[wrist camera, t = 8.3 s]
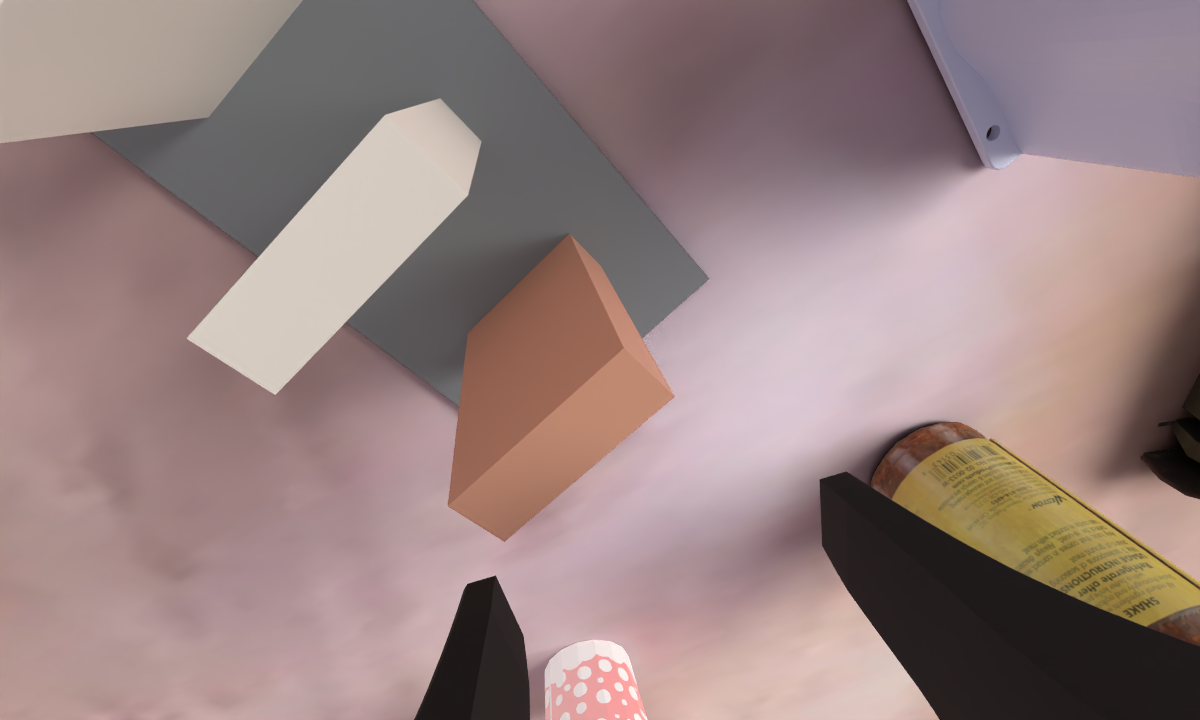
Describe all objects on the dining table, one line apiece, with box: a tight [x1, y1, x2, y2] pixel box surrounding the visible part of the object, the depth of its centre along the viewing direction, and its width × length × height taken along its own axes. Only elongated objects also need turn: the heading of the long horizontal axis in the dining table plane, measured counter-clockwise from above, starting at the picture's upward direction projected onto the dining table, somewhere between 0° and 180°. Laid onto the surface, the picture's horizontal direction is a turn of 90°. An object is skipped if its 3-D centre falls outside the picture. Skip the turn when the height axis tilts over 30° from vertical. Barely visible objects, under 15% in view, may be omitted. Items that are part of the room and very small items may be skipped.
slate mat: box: [91, 0, 709, 406], centre depth 15 cm, size 30×10×1 cm, turn 42°
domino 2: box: [186, 98, 482, 395], centre depth 13 cm, size 2×5×9 cm, turn 132°
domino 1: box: [0, 0, 303, 143], centre depth 11 cm, size 2×5×9 cm, turn 132°
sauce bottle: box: [871, 422, 1200, 646], centre depth 18 cm, size 6×6×20 cm
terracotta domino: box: [448, 234, 675, 542], centre depth 15 cm, size 2×5×9 cm, turn 133°
